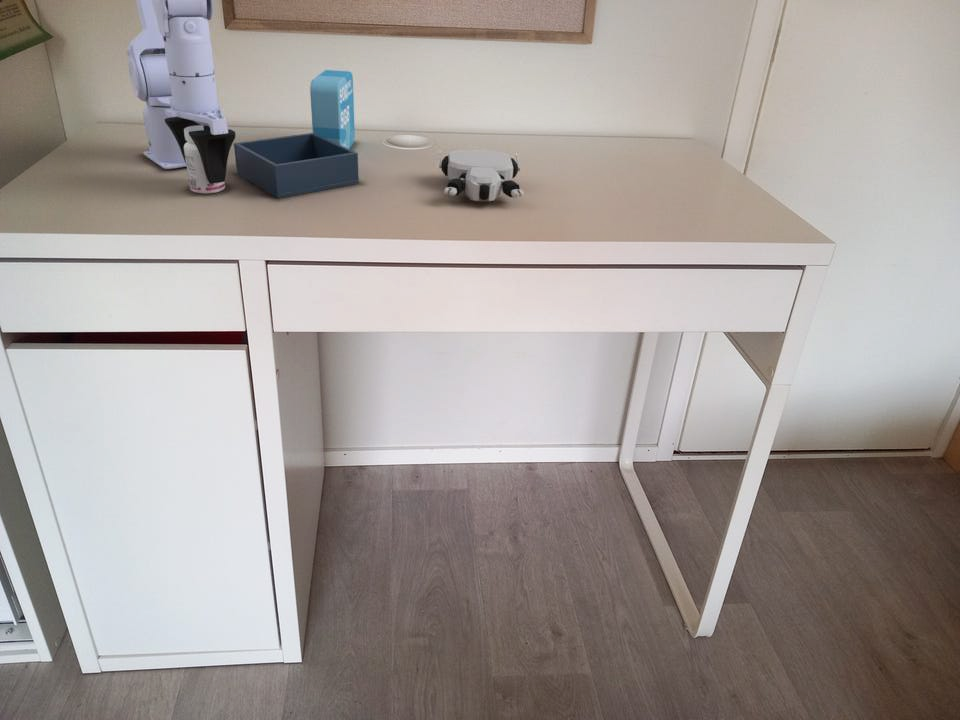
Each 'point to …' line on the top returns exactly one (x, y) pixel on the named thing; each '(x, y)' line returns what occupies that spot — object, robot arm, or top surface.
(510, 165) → the robot toy
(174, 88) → the robot arm
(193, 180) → the pill bottle
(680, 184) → the top surface
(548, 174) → the top surface
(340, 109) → the blue carton
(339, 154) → the tote
